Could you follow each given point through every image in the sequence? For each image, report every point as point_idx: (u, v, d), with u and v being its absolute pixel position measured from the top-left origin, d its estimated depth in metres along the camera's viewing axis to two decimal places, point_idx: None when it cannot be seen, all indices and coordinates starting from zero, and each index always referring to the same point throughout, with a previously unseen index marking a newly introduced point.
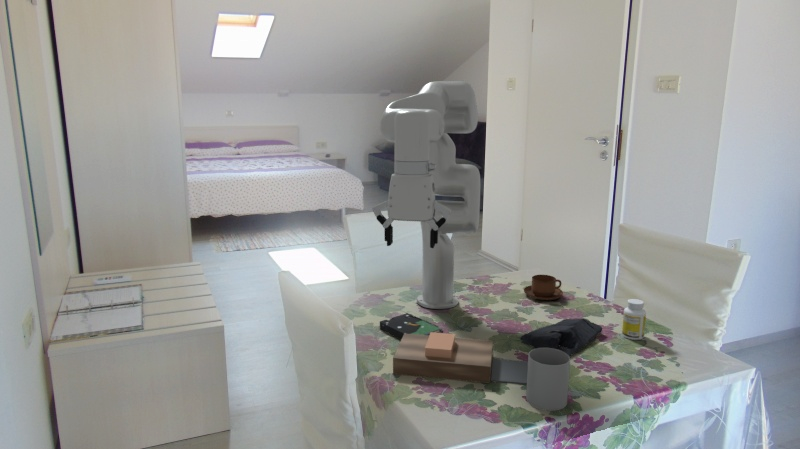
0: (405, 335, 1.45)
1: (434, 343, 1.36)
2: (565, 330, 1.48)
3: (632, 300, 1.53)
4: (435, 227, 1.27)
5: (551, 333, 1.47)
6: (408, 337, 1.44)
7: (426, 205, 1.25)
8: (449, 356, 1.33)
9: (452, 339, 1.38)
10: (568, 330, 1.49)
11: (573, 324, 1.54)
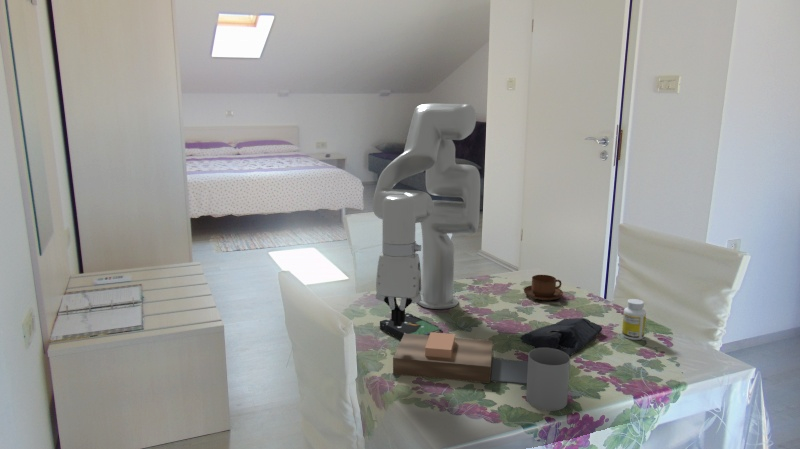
0: (405, 335, 1.45)
1: (434, 343, 1.36)
2: (565, 330, 1.49)
3: (632, 300, 1.53)
4: (402, 307, 1.36)
5: (551, 333, 1.48)
6: (408, 337, 1.44)
7: (412, 284, 1.33)
8: (449, 356, 1.33)
9: (452, 339, 1.38)
10: (568, 330, 1.49)
11: (573, 324, 1.55)
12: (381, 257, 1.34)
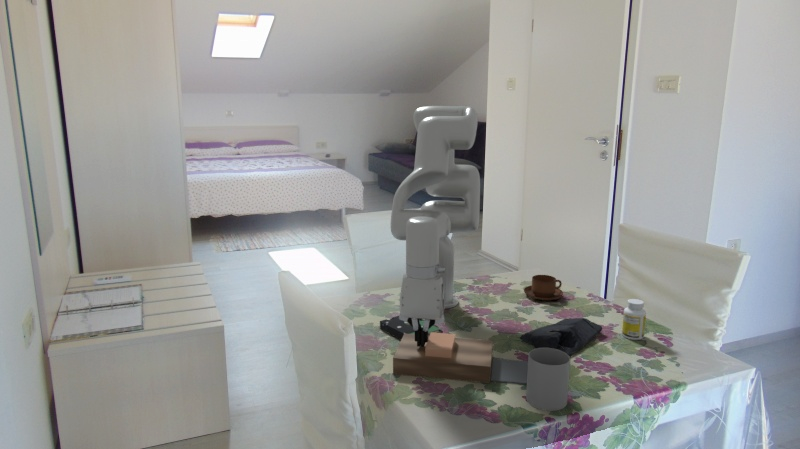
0: (405, 335, 1.45)
1: (434, 343, 1.36)
2: (565, 329, 1.49)
3: (632, 300, 1.53)
4: (425, 328, 1.36)
5: (551, 332, 1.48)
6: (408, 337, 1.44)
7: (435, 305, 1.34)
8: (449, 356, 1.33)
9: (452, 339, 1.38)
10: (568, 329, 1.49)
11: (573, 323, 1.55)
12: (405, 279, 1.34)
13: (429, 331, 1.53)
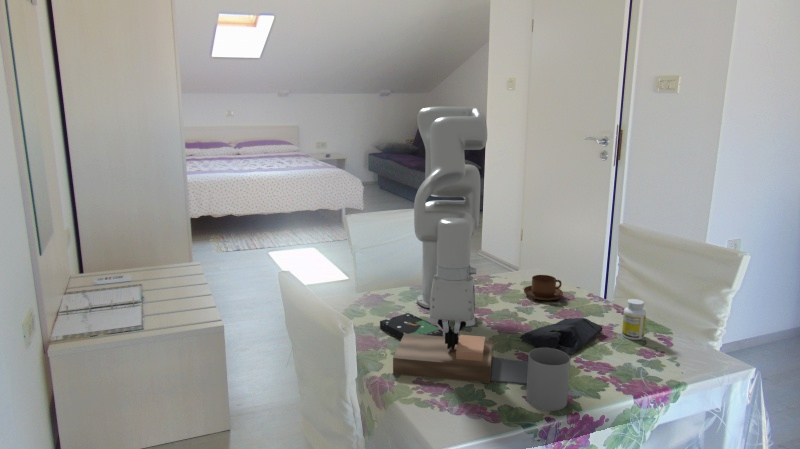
0: (405, 335, 1.45)
1: (465, 346, 1.35)
2: (565, 329, 1.49)
3: (632, 300, 1.53)
4: (456, 330, 1.35)
5: (551, 332, 1.48)
6: (408, 337, 1.44)
7: (467, 307, 1.32)
8: (480, 359, 1.32)
9: (483, 342, 1.37)
10: (568, 329, 1.49)
11: (573, 323, 1.55)
12: (436, 280, 1.32)
13: (429, 331, 1.53)
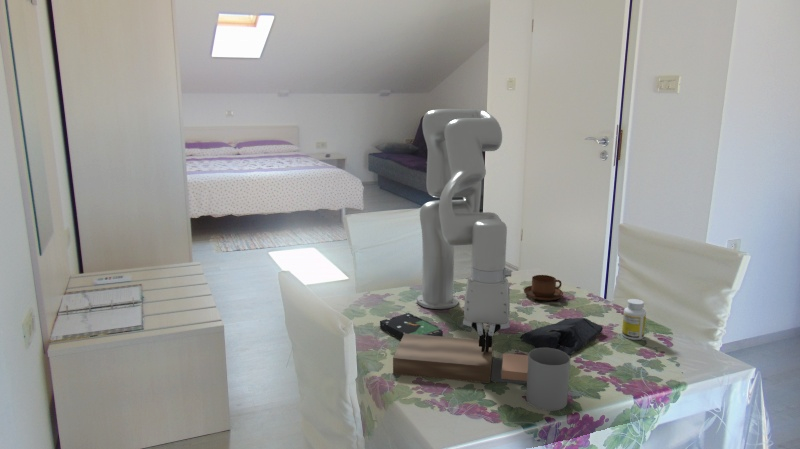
0: (405, 335, 1.45)
1: None
2: (565, 329, 1.49)
3: (632, 300, 1.53)
4: (491, 333, 1.34)
5: (551, 332, 1.48)
6: (408, 337, 1.44)
7: (502, 310, 1.31)
8: (503, 372, 1.31)
9: None
10: (568, 329, 1.49)
11: (573, 323, 1.55)
12: (470, 283, 1.31)
13: (429, 331, 1.53)
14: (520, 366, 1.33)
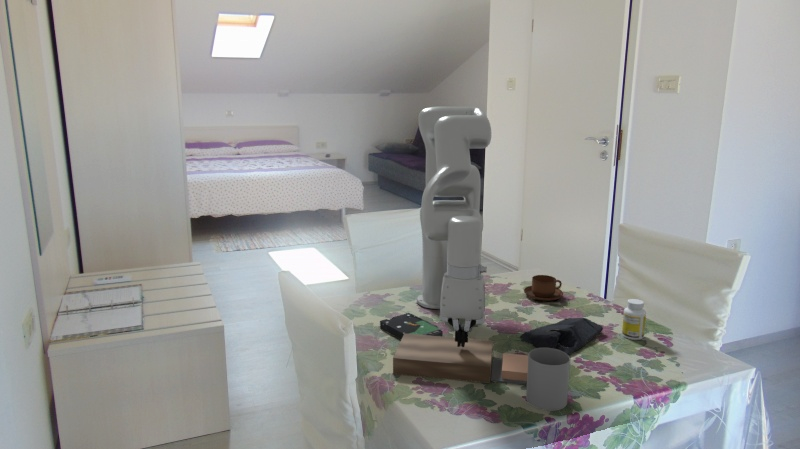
0: (405, 335, 1.45)
1: None
2: (565, 329, 1.49)
3: (632, 300, 1.53)
4: (466, 328, 1.35)
5: (550, 332, 1.48)
6: (408, 337, 1.44)
7: (477, 306, 1.32)
8: (503, 372, 1.31)
9: None
10: (568, 329, 1.50)
11: (573, 323, 1.55)
12: (446, 279, 1.32)
13: (428, 331, 1.53)
14: (520, 366, 1.33)
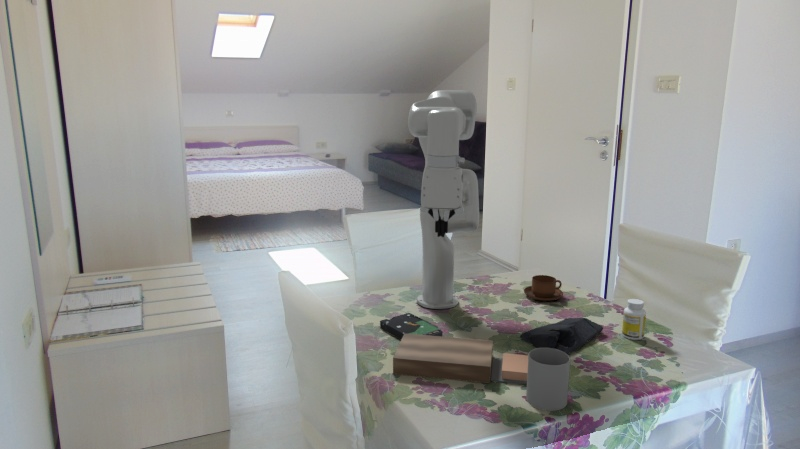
0: (405, 335, 1.45)
1: None
2: (564, 329, 1.49)
3: (632, 300, 1.53)
4: (446, 218, 1.43)
5: (550, 331, 1.49)
6: (408, 337, 1.44)
7: (456, 195, 1.40)
8: (503, 372, 1.31)
9: None
10: (567, 329, 1.50)
11: (573, 323, 1.55)
12: (426, 169, 1.40)
13: (428, 331, 1.53)
14: (520, 366, 1.33)
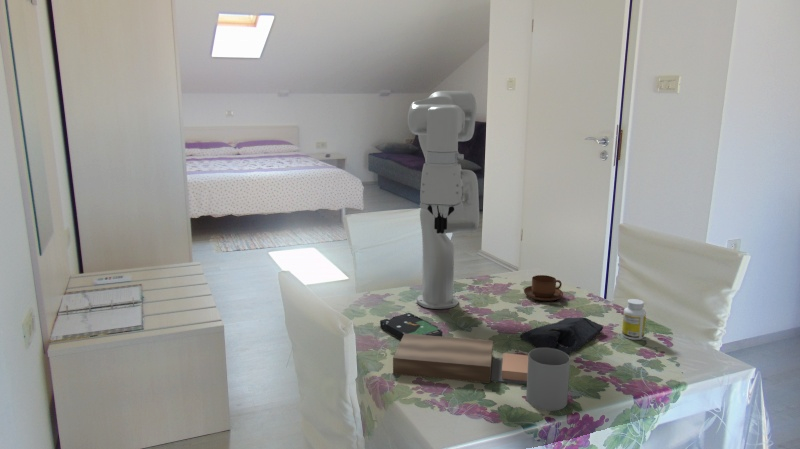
0: (405, 335, 1.45)
1: None
2: (564, 328, 1.50)
3: (632, 300, 1.53)
4: (445, 215, 1.43)
5: (550, 331, 1.49)
6: (408, 337, 1.44)
7: (455, 191, 1.40)
8: (503, 372, 1.31)
9: None
10: (567, 328, 1.50)
11: (573, 323, 1.55)
12: (425, 166, 1.40)
13: (428, 331, 1.53)
14: (520, 366, 1.33)
